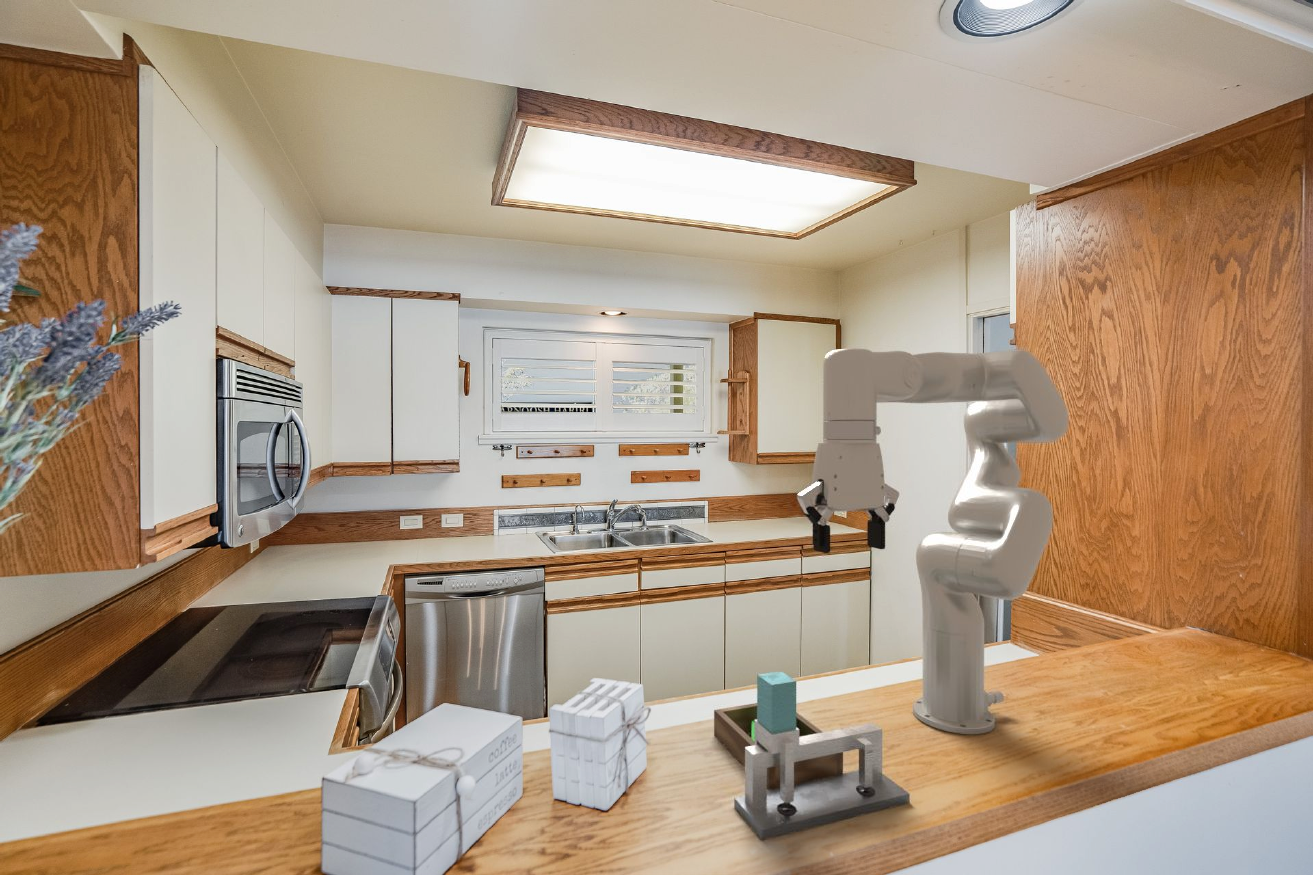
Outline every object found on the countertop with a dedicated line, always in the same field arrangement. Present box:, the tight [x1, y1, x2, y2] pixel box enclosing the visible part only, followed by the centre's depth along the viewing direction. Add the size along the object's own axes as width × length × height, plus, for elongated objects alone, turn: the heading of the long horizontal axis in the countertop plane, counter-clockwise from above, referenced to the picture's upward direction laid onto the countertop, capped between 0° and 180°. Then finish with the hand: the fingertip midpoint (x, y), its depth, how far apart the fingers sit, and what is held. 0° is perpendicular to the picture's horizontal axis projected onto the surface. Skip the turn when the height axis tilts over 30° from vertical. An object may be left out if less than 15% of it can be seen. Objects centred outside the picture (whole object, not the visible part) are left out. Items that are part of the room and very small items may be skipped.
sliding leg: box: [754, 670, 799, 806], centre depth 78 cm, size 4×5×15 cm
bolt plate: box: [733, 769, 911, 841], centre depth 80 cm, size 22×7×1 cm, turn 110°
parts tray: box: [713, 702, 844, 790], centre depth 93 cm, size 12×17×4 cm
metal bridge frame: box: [744, 722, 883, 809], centre depth 80 cm, size 20×4×8 cm, turn 110°
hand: (849, 549), depth 90 cm, fingers open, 9 cm apart
